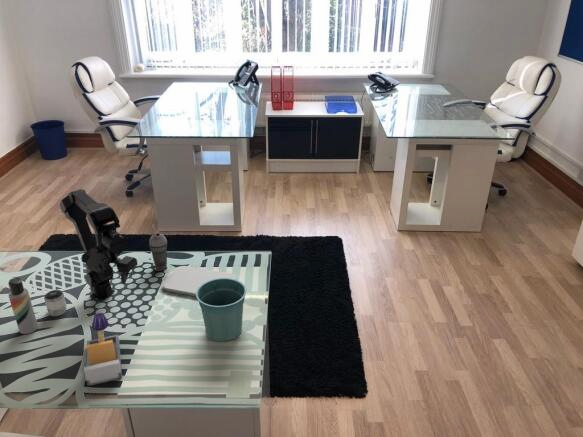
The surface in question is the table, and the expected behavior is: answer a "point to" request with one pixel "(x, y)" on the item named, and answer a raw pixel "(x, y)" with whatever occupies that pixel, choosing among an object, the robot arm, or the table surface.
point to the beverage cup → (159, 250)
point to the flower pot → (222, 307)
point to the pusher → (101, 352)
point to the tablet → (191, 279)
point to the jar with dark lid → (55, 302)
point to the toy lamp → (100, 325)
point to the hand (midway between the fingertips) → (113, 280)
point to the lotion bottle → (22, 306)
